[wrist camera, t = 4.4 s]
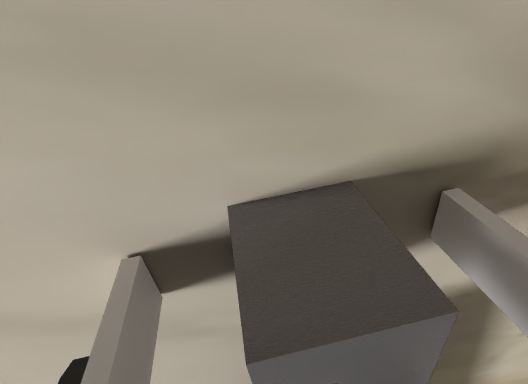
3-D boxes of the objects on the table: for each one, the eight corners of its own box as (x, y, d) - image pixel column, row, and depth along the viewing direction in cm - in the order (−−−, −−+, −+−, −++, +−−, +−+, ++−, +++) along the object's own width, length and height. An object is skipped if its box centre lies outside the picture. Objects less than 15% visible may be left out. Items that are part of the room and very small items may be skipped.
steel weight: (227, 205, 11) (246, 364, 6) (349, 180, 12) (459, 311, 7) (247, 287, 14) (271, 441, 9) (346, 264, 14) (420, 400, 9)
